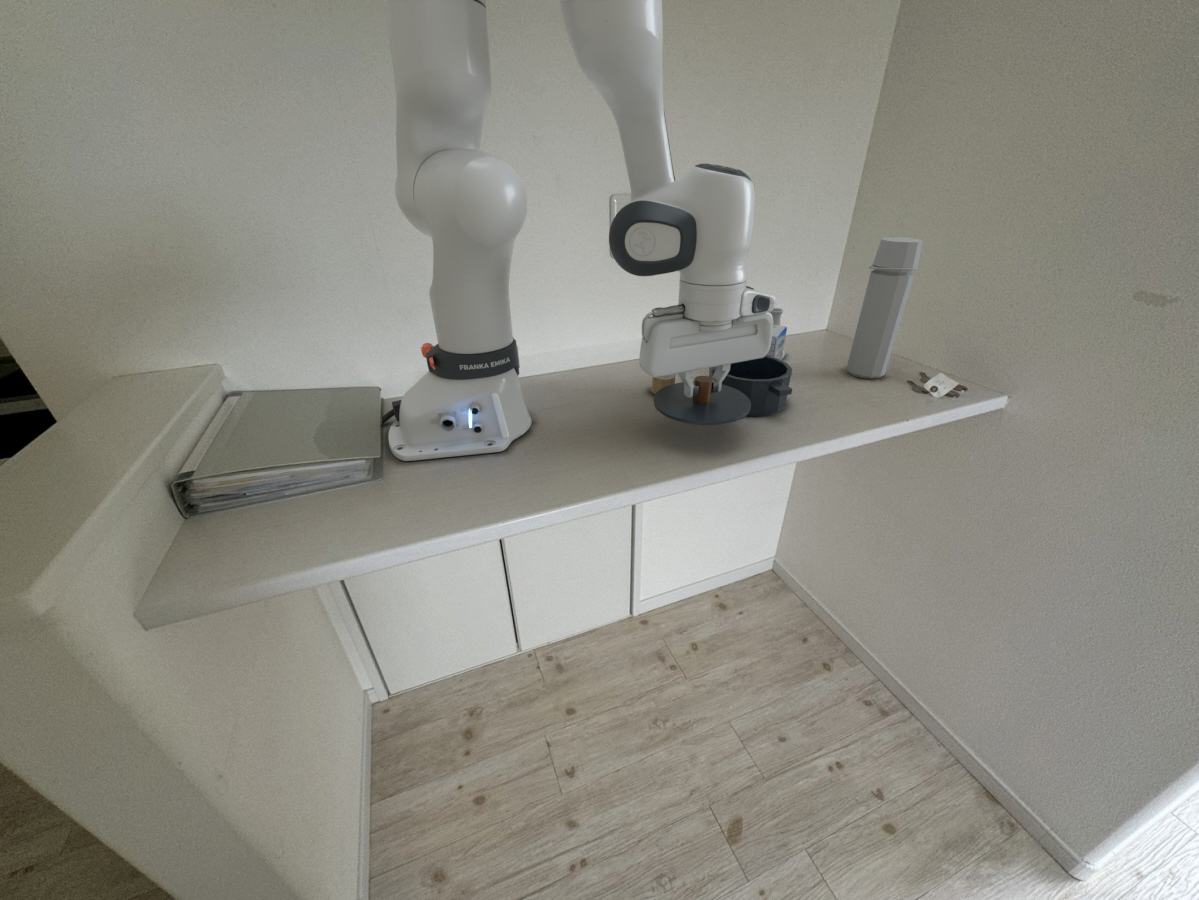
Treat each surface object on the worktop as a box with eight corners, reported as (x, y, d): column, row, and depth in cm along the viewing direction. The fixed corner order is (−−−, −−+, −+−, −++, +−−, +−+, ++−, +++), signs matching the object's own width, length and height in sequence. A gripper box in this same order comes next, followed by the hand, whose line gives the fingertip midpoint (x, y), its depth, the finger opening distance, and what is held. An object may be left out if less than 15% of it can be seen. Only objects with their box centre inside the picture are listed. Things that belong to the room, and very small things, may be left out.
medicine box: (771, 380, 97) (779, 336, 93) (748, 376, 99) (755, 333, 95) (780, 367, 103) (788, 326, 99) (759, 363, 105) (765, 323, 101)
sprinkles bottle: (654, 385, 95) (658, 316, 89) (678, 389, 94) (683, 318, 87) (647, 394, 92) (650, 322, 85) (671, 398, 90) (676, 325, 83)
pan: (745, 429, 80) (751, 392, 76) (685, 386, 95) (688, 354, 92) (813, 414, 84) (821, 379, 81) (745, 376, 99) (749, 344, 96)
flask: (781, 349, 113) (789, 305, 107) (788, 360, 106) (797, 314, 101) (748, 349, 113) (755, 304, 108) (754, 360, 107) (761, 313, 102)
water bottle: (892, 381, 96) (934, 242, 83) (849, 379, 97) (884, 242, 84) (876, 364, 104) (913, 235, 91) (837, 363, 105) (867, 235, 92)
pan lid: (683, 437, 68) (685, 407, 65) (637, 396, 80) (637, 369, 77) (770, 417, 72) (775, 388, 70) (714, 381, 84) (717, 355, 82)
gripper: (653, 315, 62) (650, 414, 69) (785, 297, 68) (770, 389, 75) (632, 304, 67) (631, 397, 74) (757, 288, 73) (745, 375, 80)
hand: (702, 393), depth 75 cm, fingers closed on pan lid, 2 cm apart
